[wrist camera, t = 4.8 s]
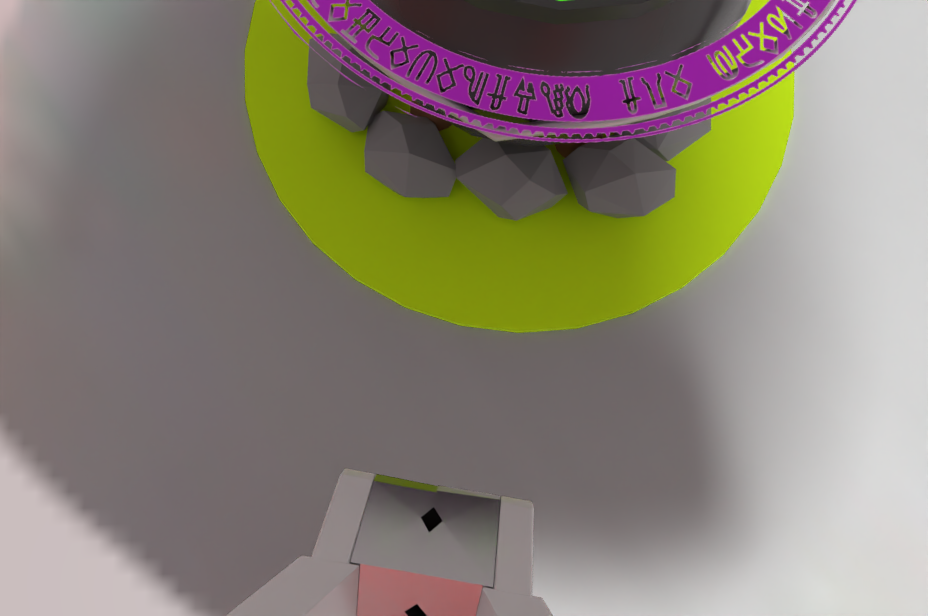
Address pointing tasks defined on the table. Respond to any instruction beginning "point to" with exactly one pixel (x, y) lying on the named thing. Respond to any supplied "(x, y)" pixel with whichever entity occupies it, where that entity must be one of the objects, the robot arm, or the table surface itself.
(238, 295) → the table surface
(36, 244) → the table surface
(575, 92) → the toy cauldron
